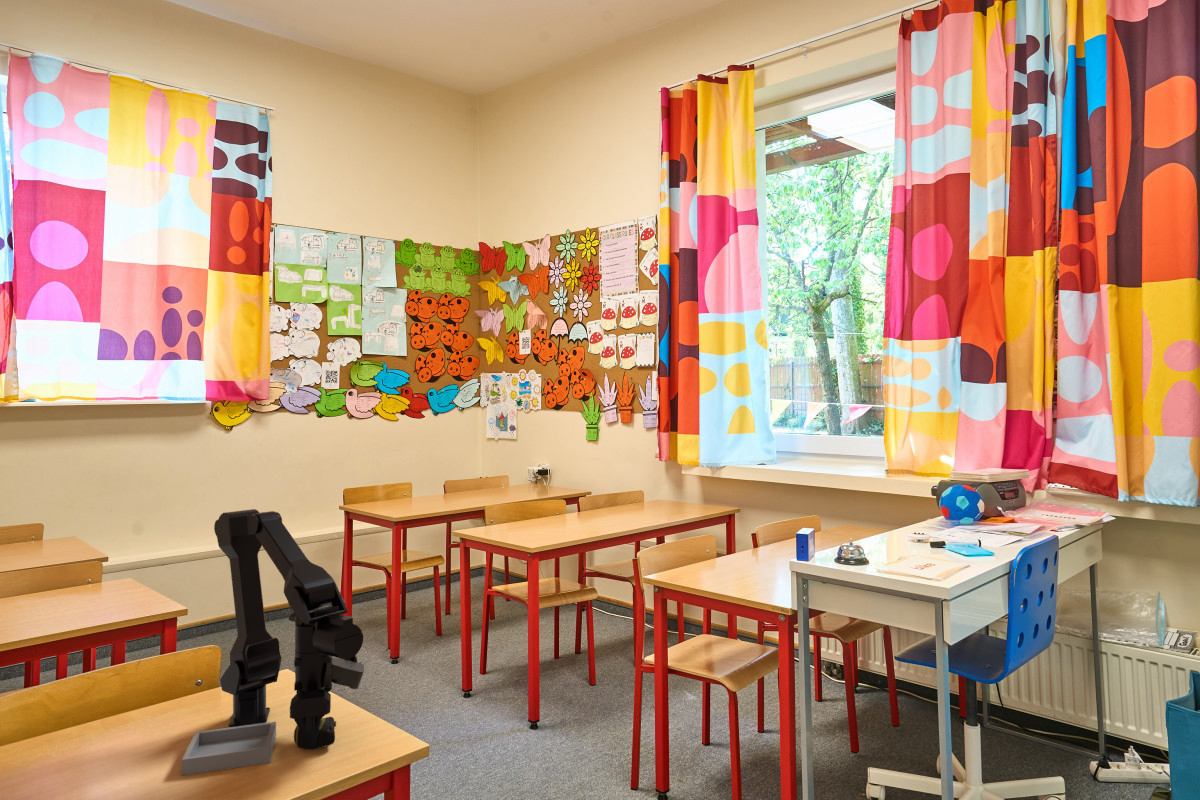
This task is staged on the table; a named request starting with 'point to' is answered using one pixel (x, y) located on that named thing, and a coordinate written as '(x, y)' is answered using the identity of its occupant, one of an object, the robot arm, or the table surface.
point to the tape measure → (324, 735)
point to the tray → (229, 748)
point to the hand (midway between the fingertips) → (313, 738)
